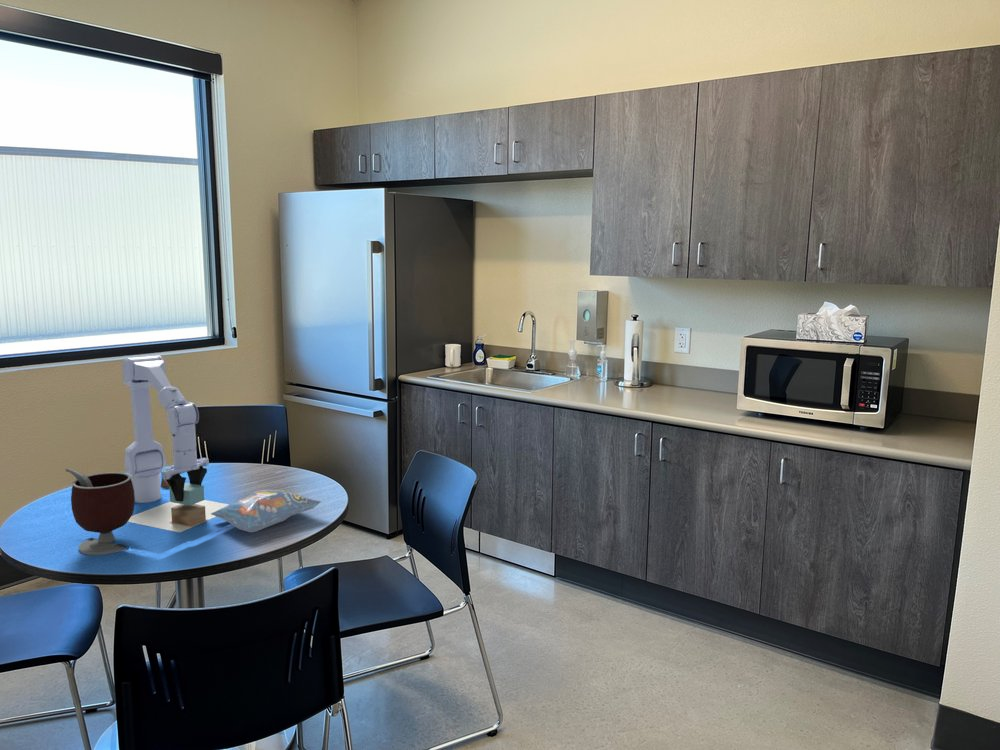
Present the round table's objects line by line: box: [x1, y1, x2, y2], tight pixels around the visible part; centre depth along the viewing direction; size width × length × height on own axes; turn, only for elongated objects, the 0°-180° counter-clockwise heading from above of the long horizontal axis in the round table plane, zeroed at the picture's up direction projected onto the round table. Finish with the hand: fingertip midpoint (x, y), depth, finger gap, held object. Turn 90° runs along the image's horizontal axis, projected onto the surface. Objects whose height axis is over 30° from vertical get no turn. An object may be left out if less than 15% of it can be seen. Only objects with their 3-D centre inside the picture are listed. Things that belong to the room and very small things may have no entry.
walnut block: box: [171, 504, 206, 526], centre depth 197 cm, size 7×5×4 cm
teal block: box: [168, 482, 205, 506], centre depth 196 cm, size 7×5×4 cm
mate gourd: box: [65, 467, 136, 556], centre depth 182 cm, size 16×14×20 cm
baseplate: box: [127, 499, 230, 533], centre depth 203 cm, size 21×22×1 cm
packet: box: [211, 489, 322, 533], centre depth 200 cm, size 17×24×8 cm
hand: (187, 497), depth 196 cm, fingers closed on teal block, 5 cm apart
